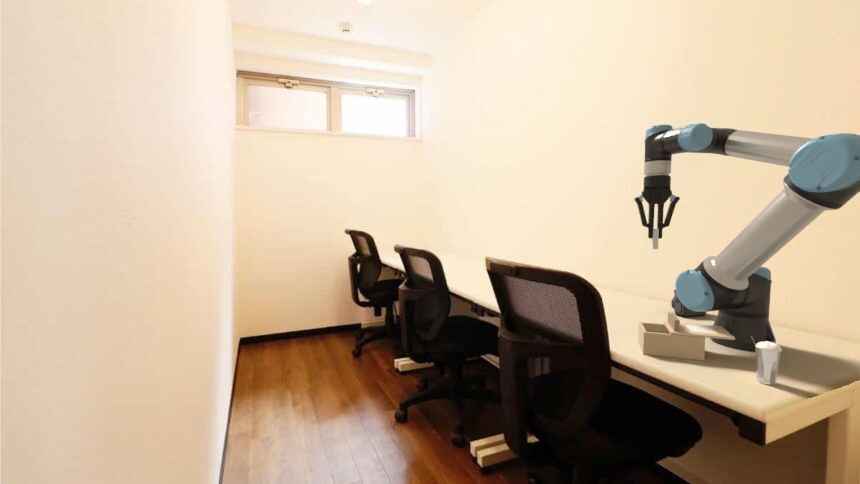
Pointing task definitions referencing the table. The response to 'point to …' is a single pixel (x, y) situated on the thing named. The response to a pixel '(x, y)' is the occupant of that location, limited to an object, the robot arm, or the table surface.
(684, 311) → the camera
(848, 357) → the table surface
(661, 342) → the box
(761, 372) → the milkshake
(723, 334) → the lid
